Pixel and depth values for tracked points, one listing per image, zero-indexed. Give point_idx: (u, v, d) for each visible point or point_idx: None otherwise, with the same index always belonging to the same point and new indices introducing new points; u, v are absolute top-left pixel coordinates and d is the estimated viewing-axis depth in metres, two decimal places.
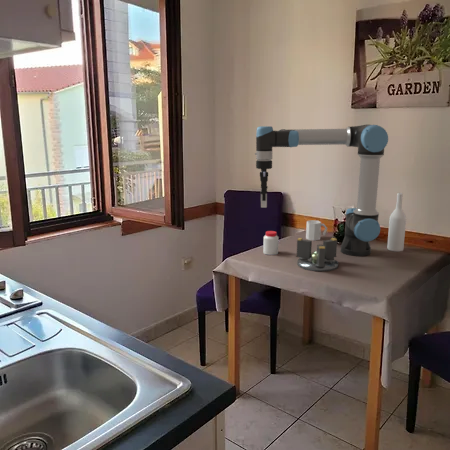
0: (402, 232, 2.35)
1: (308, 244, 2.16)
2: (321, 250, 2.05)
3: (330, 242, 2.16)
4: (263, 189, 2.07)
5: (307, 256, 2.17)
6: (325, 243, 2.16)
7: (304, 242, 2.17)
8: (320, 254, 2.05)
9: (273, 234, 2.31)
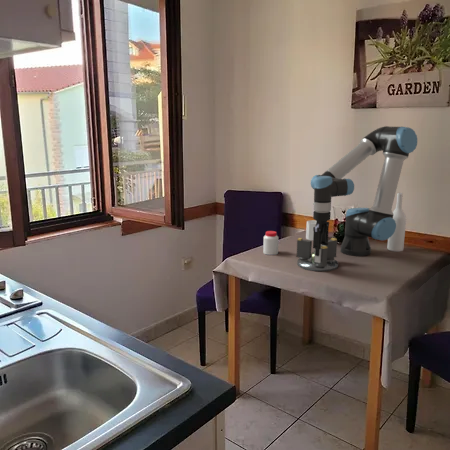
0: (402, 232, 2.35)
1: (308, 244, 2.16)
2: (324, 250, 2.05)
3: (330, 242, 2.16)
4: (315, 245, 2.03)
5: (307, 256, 2.17)
6: None
7: (304, 242, 2.17)
8: (323, 254, 2.05)
9: (273, 234, 2.31)
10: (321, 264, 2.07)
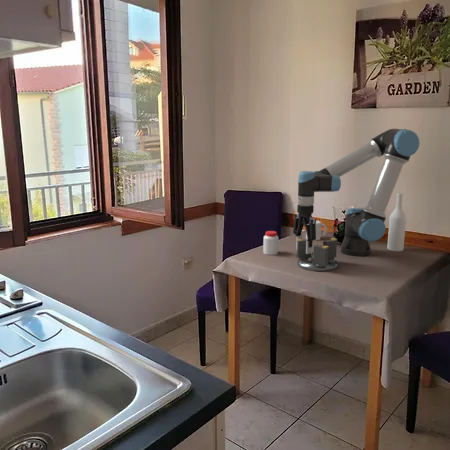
0: (402, 232, 2.35)
1: None
2: (326, 250, 2.05)
3: (330, 242, 2.16)
4: (313, 237, 2.11)
5: (309, 255, 2.19)
6: (325, 243, 2.16)
7: None
8: (325, 254, 2.05)
9: (273, 234, 2.31)
10: (323, 264, 2.07)
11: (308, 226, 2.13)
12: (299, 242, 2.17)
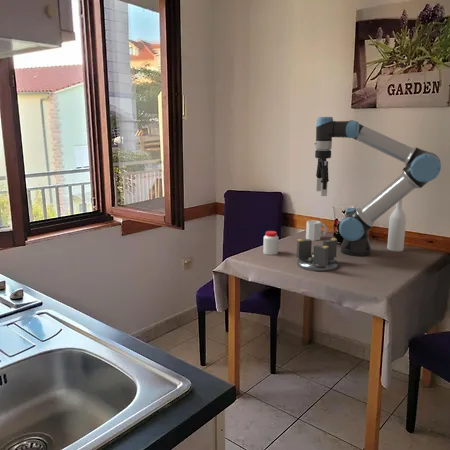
0: (402, 232, 2.35)
1: (310, 243, 2.18)
2: (326, 250, 2.05)
3: (330, 242, 2.16)
4: (325, 178, 2.12)
5: (309, 255, 2.19)
6: (325, 243, 2.16)
7: (306, 242, 2.17)
8: (325, 254, 2.05)
9: (273, 234, 2.31)
10: (323, 264, 2.07)
11: (323, 169, 2.17)
12: (300, 242, 2.16)
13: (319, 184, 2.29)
